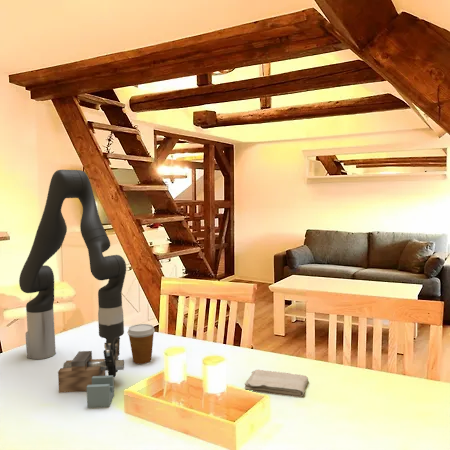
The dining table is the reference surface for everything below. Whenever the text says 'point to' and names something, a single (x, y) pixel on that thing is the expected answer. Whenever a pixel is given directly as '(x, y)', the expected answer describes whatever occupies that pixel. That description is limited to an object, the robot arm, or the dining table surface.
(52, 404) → the dining table surface
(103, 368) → the steel axle
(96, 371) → the walnut bearing block
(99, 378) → the slate V-block
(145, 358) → the disposable coffee cup
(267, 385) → the washcloth
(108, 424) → the dining table surface
